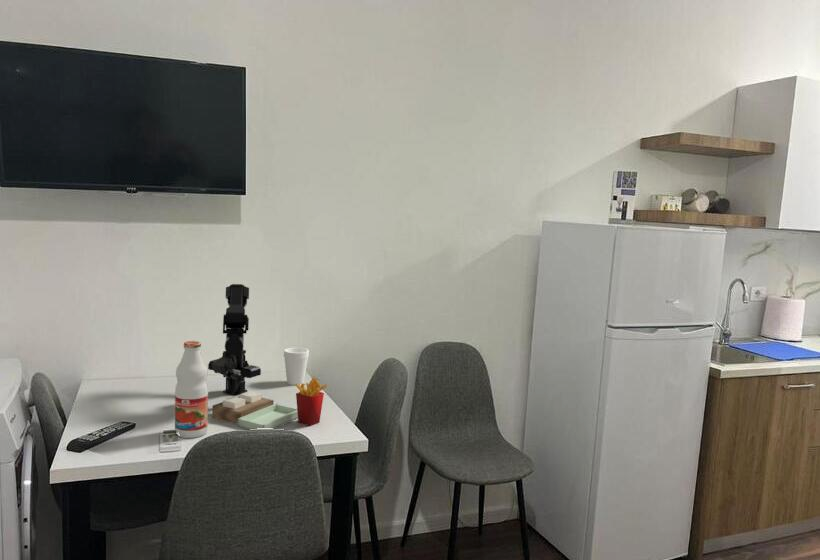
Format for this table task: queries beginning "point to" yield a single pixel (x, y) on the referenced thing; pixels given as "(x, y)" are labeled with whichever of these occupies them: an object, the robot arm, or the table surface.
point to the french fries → (309, 402)
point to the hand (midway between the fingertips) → (233, 392)
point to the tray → (269, 417)
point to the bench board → (239, 410)
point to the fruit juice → (191, 393)
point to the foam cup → (296, 364)
